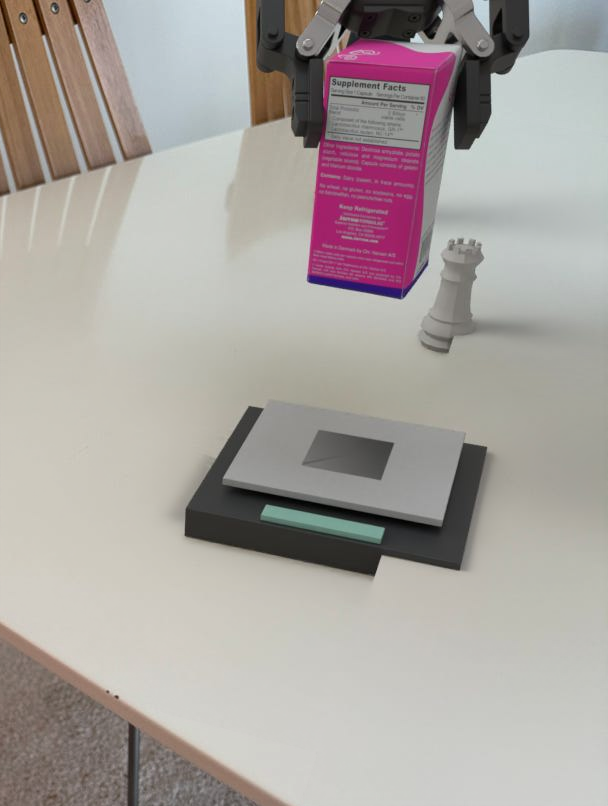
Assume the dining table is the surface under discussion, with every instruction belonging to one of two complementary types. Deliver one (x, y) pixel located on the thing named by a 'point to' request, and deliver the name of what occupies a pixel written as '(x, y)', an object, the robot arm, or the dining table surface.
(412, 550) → the kitchen scale
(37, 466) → the dining table surface
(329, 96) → the supplement box
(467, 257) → the rook chess piece
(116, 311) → the dining table surface
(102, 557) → the dining table surface
